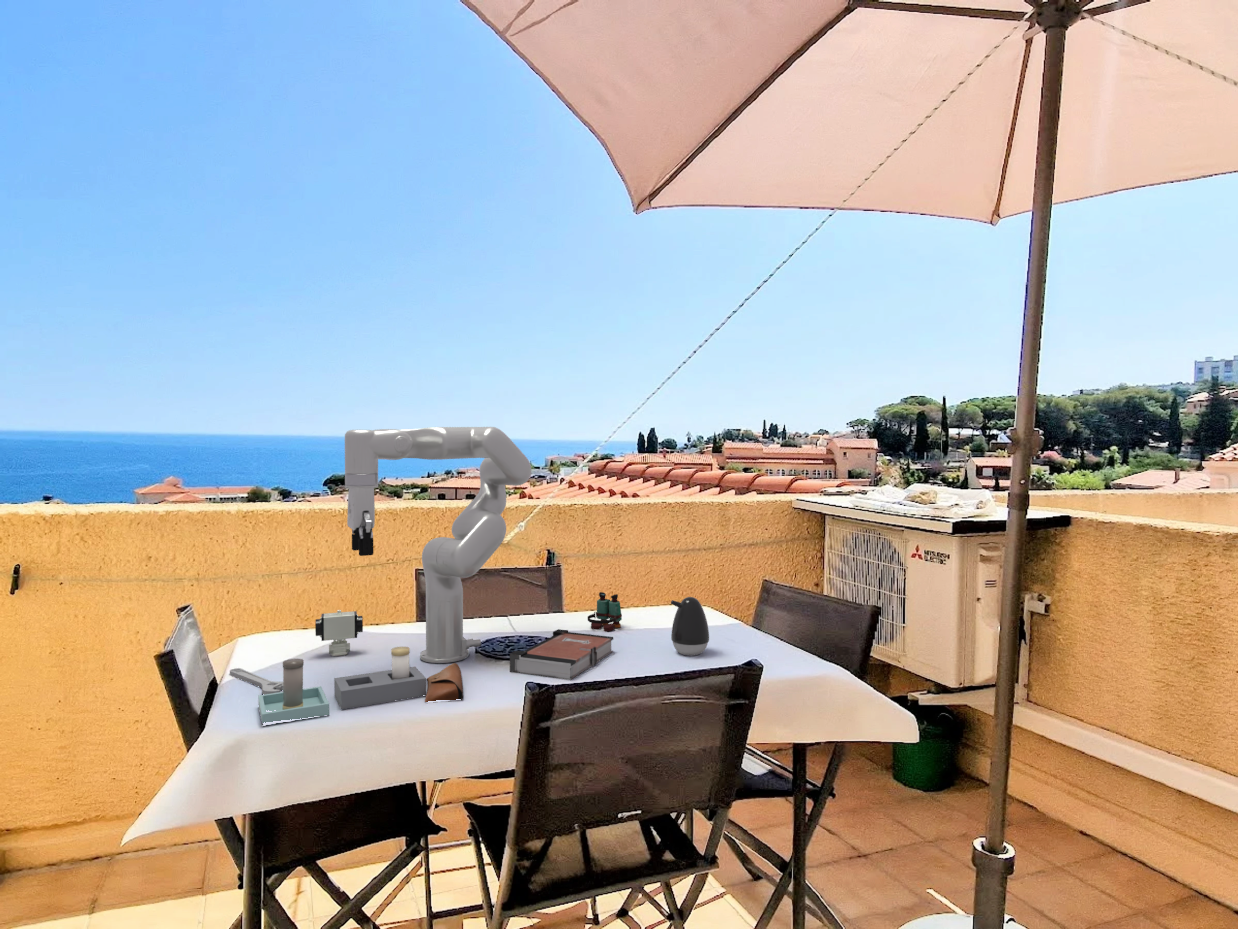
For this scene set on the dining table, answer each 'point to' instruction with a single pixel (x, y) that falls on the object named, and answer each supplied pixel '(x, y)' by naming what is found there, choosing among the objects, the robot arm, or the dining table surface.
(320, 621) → the pneumatic valve
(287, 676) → the cylinder
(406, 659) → the cylinder
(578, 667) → the book
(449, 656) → the robot arm
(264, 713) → the parts tray
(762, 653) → the dining table surface
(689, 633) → the pump dispenser
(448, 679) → the sunglasses case
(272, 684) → the adjustable wrench
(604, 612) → the green twin tank jetpack
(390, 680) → the block
